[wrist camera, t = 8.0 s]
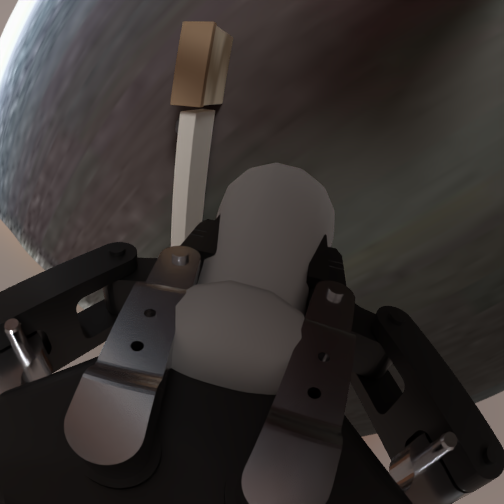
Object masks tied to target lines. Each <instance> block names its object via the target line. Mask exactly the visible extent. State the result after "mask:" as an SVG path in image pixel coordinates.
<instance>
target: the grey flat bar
mask: <svg viewBox="0 0 504 504" xmlns="http://www.w3.org/2000/svg"><path fill="white" fill-rule="evenodd" d="M214 116H215V110H209V109H195V110H188V111H181V112H180V118H179V119H178V120H177V121H176V125H175V131H176V133H178V137H177V148H176V159H175V172H174V187H173V204H172V226H171V247H172V246H180V245H181V244H182V243H183V242H184V240H185V239H186V238H187V237H188V236H189V234H191V232H192V231H193V230H194V228H195V227H196V226H197V225H198V224H199V223H200V222H202V219H203V209H204V199H205V189H206V180H207V171H208V163H209V154H210V146H211V138H212V131H213V123H214Z"/></svg>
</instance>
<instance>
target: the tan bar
mask: <svg viewBox="0 0 504 504" xmlns="http://www.w3.org/2000/svg"><path fill="white" fill-rule="evenodd" d="M216 25H217V24H216V23H215V22H183V25H182V30H181V36H180V41H179V47H178V53H177V60H176V66H175V73H174V80H173V88H172V96H171V104H170V105H181V106H192V107H203V105H214V104H222V103H223V96H224V90H225V83H226V77H227V71H228V65H229V59H230V53H231V48H232V42H233V37H231V36H230V35H229V34H227V33H226V32H224V31H223V30H222V29H220V28H219V27H217V26H216Z"/></svg>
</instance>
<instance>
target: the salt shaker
mask: <svg viewBox="0 0 504 504" xmlns="http://www.w3.org/2000/svg"><path fill="white" fill-rule="evenodd" d="M220 213H221V214H220ZM219 215H220V224H219V234H218V244H217V251H216V253H215V255H214V256H212V257H209V258H207V259H205V260H204V263H203V266H202V270H201V273H200V276H199V280H198V283H197V285H194V286H192V287H190V288H189V289H187V290H186V294H185V295H184V297H183V298H182V299H181V300H180V301H179V303H178V304H177V305H176V318H175V327H176V331H175V339H174V346H173V353H172V365H171V368H172V369H174V370H176V371H178V372H180V373H182V374H184V375H187V376H189V377H191V378H194V379H197V380H200V381H203V382H207V383H210V384H214V385H217V386H221V387H225V388H229V389H232V390H237V391H242V392H247V393H256V394H267V395H276V393H277V391H278V388H279V386H280V383H281V381H282V378H283V376H284V373H285V371H286V368H287V366H288V363H289V360H290V358H291V355H292V352H293V350H294V348H295V347H296V345H297V344H298V342H299V341H300V340H301V338H302V335H301V328H302V325H303V322H304V319H305V314H306V307H307V301H308V295H309V287H308V285H307V283H306V282H307V275H308V267H309V263H310V261H311V259H312V257H313V255H314V253H315V252H316V250H317V248H318V246H319V244H320V242H321V240H322V238H323V236H324V235H325V234H326V235H327V245H328V247H331V244H332V241H333V238H334V223H335V211H334V208H333V206H332V203H331V201H330V199H329V196H328V194H327V191H326V189H325V187H324V186H323V185H322V184H320V183H319V182H318V181H317V180H315V179H314V178H313V177H312V176H311V175H309V174H308V173H307V172H306V171H304V170H303V169H301V168H297V167H293V166H289V165H285V164H281V163H277V162H276V163H272V164H267V165H262V166H258V167H253V168H250V169H248V170H247V171H245V172H244V173H243V174H242V175H240V176H239V177H238V178H237V179H236V180H234V181H233V182H232V183H231V184H229V185H228V187H227V190H226V192H225V195H224V197H223V199H222V202H221V204H220V207H219V210H218V213H217V217H218V216H219ZM217 217H216V218H217Z"/></svg>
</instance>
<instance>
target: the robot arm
mask: <svg viewBox="0 0 504 504" xmlns="http://www.w3.org/2000/svg"><path fill="white" fill-rule="evenodd" d="M220 214H221V213H220ZM219 224H220V215H219V216H218V217H217V218H216V220H215V221H214V220H209V219H207V220H205V221H203V222H200V223H199V224H198V225H197V226H196V227H195V228H194V230H193V231H192V232H191V234H189V236H188V237H187V238H186V239H185V240H184V242H183V243H182V244H181V245H180V246H172V247H168V248H166V249H164V250H163V251H162V252H161V253H160V255H159V257H158V258H137V250H136V248H135V247H134V246H133V245H131V244H128V243H124V242H115V243H110V244H107V245H104V246H102V247H100V248H97V249H95V250H92V251H90V252H88V253H85V254H83V255H80V256H78V257H76V258H73V259H71V260H69V261H66V262H64V263H62V264H60V265H57V266H55V267H53V268H50V269H48V270H46V271H44V272H42V273H39V274H37V275H35V276H33V277H31V278H28V279H26V280H24V281H22V282H20V283H18V284H16V285H14V286H12V287H9V288H7V289H6V290H4V291H1V292H0V504H452V503H454V502H455V501H457V500H459V499H461V498H463V497H465V496H466V495H468V494H470V493H472V492H474V491H476V490H477V489H479V488H481V487H482V486H484V485H486V484H487V483H489V482H491V481H492V480H494V479H495V478H497V477H498V476H499V475H500V474H501V473H502V471H503V470H504V449H503V447H502V445H501V444H500V442H499V440H498V439H497V437H496V436H495V434H494V432H493V431H492V429H491V428H490V426H489V424H488V423H487V421H486V420H485V418H484V417H483V415H482V414H481V412H480V411H479V409H478V408H477V406H476V405H475V403H474V402H473V400H472V399H471V397H470V396H469V394H468V393H467V392H466V390H465V389H464V387H463V386H462V384H461V383H460V382H459V380H458V379H457V377H456V376H455V375H454V373H453V372H452V371H451V369H450V368H449V366H448V365H447V364H446V362H445V361H444V360H443V358H442V357H441V356H440V354H439V353H438V352H437V350H436V349H435V348H434V347H433V345H432V344H431V343H430V341H429V340H428V339H427V337H426V336H425V335H424V334H423V332H422V331H421V330H420V329H419V327H418V326H417V325H416V324H415V322H414V321H413V320H412V319H411V317H410V316H409V315H408V314H407V313H405V312H404V311H402V310H401V309H399V308H396V307H392V306H383V307H381V308H379V309H378V311H377V313H376V314H374V313H372V312H370V311H367V310H365V309H363V308H361V307H359V306H358V305H356V304H355V295H354V293H353V292H352V291H351V290H350V289H349V288H348V287H347V286H346V281H345V274H344V267H343V260H342V256H341V254H340V253H339V252H338V250H337V249H335V248H331V247H328V245H327V235H326V234H325V235H324V236H323V238H322V240H321V242H320V244H319V246H318V248H317V250H316V252H315V253H314V255H313V257H312V259H311V261H310V263H309V267H308V275H307V282H306V283H307V285H308V287H309V295H308V301H307V307H306V314H305V319H304V322H303V325H302V328H301V335H302V338H301V340H300V341H299V342H298V344H297V345H296V347H295V348H294V350H293V352H292V355H291V358H290V360H289V363H288V366H287V368H286V371H285V373H284V376H283V378H282V381H281V383H280V386H279V388H278V391H277V393H276V395H267V394H256V393H247V392H242V391H237V390H232V389H229V388H225V387H221V386H217V385H214V384H210V383H207V382H203V381H200V380H197V379H194V378H191V377H189V376H187V375H184V374H182V373H180V372H178V371H176V370H174V369H172V368H171V365H172V353H173V346H174V339H175V331H176V327H175V318H176V305H177V304H178V303H179V301H180V300H181V299H182V298H183V297H184V295H185V294H186V290H187V289H189V288H190V287H192V286H194V285H197V283H198V280H199V276H200V273H201V270H202V266H203V263H204V260H205V259H207V258H209V257H212V256H214V255H215V253H216V251H217V244H218V234H219ZM101 288H103V292H104V298H105V299H104V300H102V301H100V302H98V303H96V304H94V305H93V306H91V307H89V308H87V309H85V310H83V311H81V312H79V313H77V312H76V306H77V304H78V302H79V301H80V300H81V299H82V298H83V297H85V296H87V295H89V294H91V293H93V292H95V291H97V290H99V289H101ZM105 341H106V342H105ZM103 342H105V344H104V346H103V349H102V351H101V353H100V355H99V356H98V357H95V358H93V359H90V360H88V361H85V362H83V363H80V364H78V365H75V366H72V367H69V368H67V369H64V370H61V371H59V372H56V373H54V372H55V371H57V370H59V369H60V368H62V367H63V366H65V365H67V364H69V363H70V362H72V361H74V360H75V359H77V358H78V357H80V356H82V355H83V354H85V353H87V352H89V351H90V350H92V349H94V348H95V347H97V346H98V345H100V344H102V343H103ZM392 363H393V364H394V366H395V367H396V369H397V370H398V372H399V373H400V375H401V377H402V378H403V380H404V384H405V389H404V392H403V393H402V391H401V390H400V388H399V387H398V385H397V383H396V382H395V380H394V379H393V377H392V375H391V374H390V372H389V371H388V369H389V367H390V366H391V364H392ZM52 373H53V374H52ZM350 382H351V384H352V386H353V388H354V390H355V392H356V393H357V395H358V397H359V399H360V401H361V403H362V405H363V407H364V409H365V411H366V412H367V414H368V416H369V418H370V420H371V422H372V424H373V426H374V428H375V430H376V432H377V434H378V435H379V437H380V439H381V441H382V443H383V445H384V447H385V449H386V451H387V453H388V455H389V457H390V459H391V463H390V466H389V472H388V471H387V470H386V469H385V467H384V466H383V465H382V464H381V462H380V461H379V460H378V458H377V457H376V456H375V454H374V453H373V452H372V451H371V449H370V448H369V447H368V446H367V444H366V443H365V441H364V440H363V439H362V437H361V436H360V435H359V433H358V432H357V431H356V429H355V428H354V427H353V425H352V424H351V423H350V422H349V420H348V419H347V418H346V416H345V415H344V414H345V408H346V403H347V398H348V392H349V386H350Z"/></svg>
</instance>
